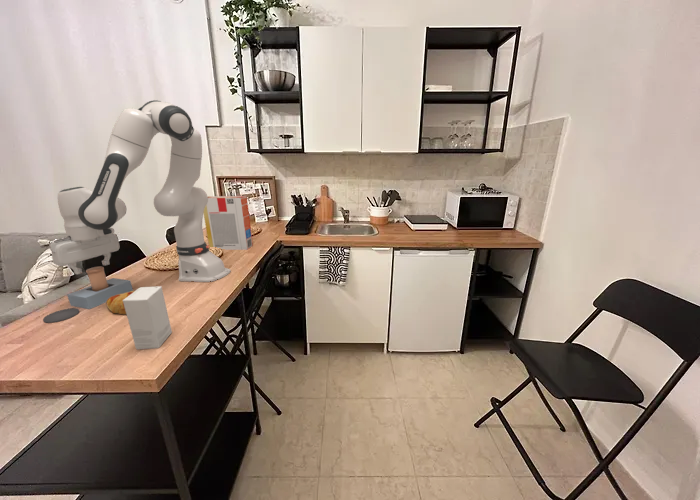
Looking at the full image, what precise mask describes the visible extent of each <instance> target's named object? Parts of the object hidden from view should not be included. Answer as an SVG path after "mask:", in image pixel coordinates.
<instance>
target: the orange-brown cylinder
mask: <svg viewBox="0 0 700 500" xmlns="http://www.w3.org/2000/svg"><path fill="white" fill-rule="evenodd" d="M85 272H86V274H87V277H88V281H89V283H90V286H91V287H92V290H93V291H96V292H97V291H100V290H103V289H105V288H108V287H109V286H108V283H107V280H108V279H107V276H106V273H105V268H104V266H94V267H93V266H92V267H91V268H86V270H85Z"/></svg>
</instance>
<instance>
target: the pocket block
mask: <svg viewBox="0 0 700 500" xmlns="http://www.w3.org/2000/svg"><path fill="white" fill-rule="evenodd" d="M131 281H132V280H129V279H121V278H117V277H111V278H109V279H107V283H108V286H109V287H108V288H105V289H103V290H100V291H97V292H96V291H93V290H92V287H91V285H89V286H86V287H84V288H82V289H78V290H76V291H73V292H71V293H68V294H66V296H67V299H68V302H69V305H70V307H74V308H81V309H86V310H91V309H94V308H96V307H99V306H101V305H103V304H105V303H106V302H107V300H108V299H109V298H110V297H112V296H115V295H118V294H123V293H126V292H130V291H134V289H133V285H132V282H131Z"/></svg>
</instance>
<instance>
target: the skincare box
mask: <svg viewBox="0 0 700 500" xmlns="http://www.w3.org/2000/svg"><path fill="white" fill-rule="evenodd" d="M133 291H134V292H133V293H132V294H131V295H129V296H128V297H127V298H125V299H124V300H123V303H124V307H125V311H126V314H125V315H126V318H127V320H128V325H129V329H130V332H131V336H132V340H133V343H134V347H135V349H136V350H137V351H139V350H151V349H160V347H161V346H162V345H163V343H165V342H166V340H167V339H168V338H169V336H170V335H171V334H172V333H173V331H172V326H171V322H170V317H169V313H168V309H167V304H166V300H165V295H164V291H163V286H162V285H160V286H159V285H157V286H142V287H139V288H137V289H136V290H133Z"/></svg>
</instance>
